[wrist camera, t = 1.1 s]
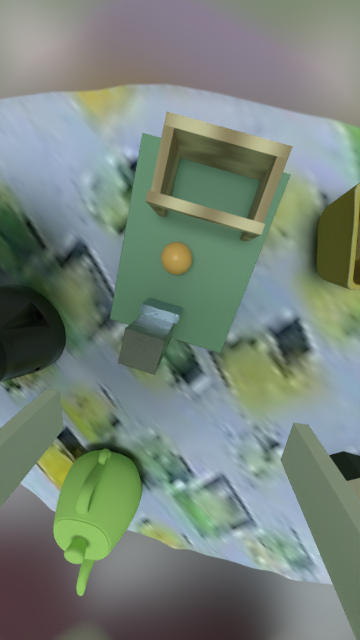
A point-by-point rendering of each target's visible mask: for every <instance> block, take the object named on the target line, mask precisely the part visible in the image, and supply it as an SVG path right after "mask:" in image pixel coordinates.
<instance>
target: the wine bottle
mask: <svg viewBox="0 0 360 640" xmlns="http://www.w3.org/2000/svg"><path fill="white" fill-rule="evenodd" d="M329 456H330V458H331V459H332V460H333V462H334V463H335V465H336V466H337V468H338V469H339V471H340V472H341V474H342V475H343V477H344V478H345V480H346V481H347V483H348V484H349V485H350V487H351V488H352V490H353V491H354V493H355V494H356V496H357V497H358V499H359V500H360V456H357V455H354V454H351V453H347V452H340V453H336V454H333V455H329Z"/></svg>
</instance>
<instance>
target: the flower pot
mask: <svg viewBox="0 0 360 640" xmlns="http://www.w3.org/2000/svg"><path fill="white" fill-rule="evenodd" d="M317 271H318V274H319V275H320V277H321V278H322V279H324V280H326V281H328V282H331V283H334V284H337V285H340V286H342V287H345V288H348V289H351V290H357V289H360V183H359V184H357V185H356V186H355V187H353V188H352V189H350V190H349V191H348V192H346V193H345V194H344V195H342V196H341V197H339V198H338V199H337V200H335V201H334V202H333V203H332V204H330V205H329V206H328V207H327V208H326V209H325V210H324V212H323V213H322V215H321V217H320V220H319V224H318V237H317Z"/></svg>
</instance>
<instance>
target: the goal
mask: <svg viewBox="0 0 360 640" xmlns="http://www.w3.org/2000/svg"><path fill="white" fill-rule="evenodd" d="M292 147H293V146H289V145H285V144H282V143H278V142H275V141H271V140H267V139H264V138H260V137H257V136H253V135H249V134H246V133H242V132H239V131H235V130H231V129H228V128H224V127H221V126H217V125H213V124H210V123H206V122H203V121H199V120H195V119H192V118H188V117H185V116H181V115H177V114H174V113H170V112H167V113H166V118H165V123H164V128H163V133H162V138H161V143H160V148H159V153H158V157H157V162H156V167H155V172H154V177H153V182H152V187H151V191H150V190H147V195H146V200H145V201H146V202H147V203H148V204H149V206H150V207H151V208H152V209H153V210H154V211H155V212H156V213H157V214H158V215H159V216H162V217H165V218H166V215H167V211H168V210H170V211H174V212H177V213H181V214H184V215H187V216H191V217H194V218H198V219H201V220H205V221H208V222H211V223H215V224H218V225H222V226H225V227H228V228H232V229H235V230H239V231H242V235H241V238H240V240H244V241H247V242H248V241H250V240H252V239H254V238H256V237H258V236H260V235H261V234H262V231H263V229H264V226H265V224H264V220H265V217H266V215H267V212H268V210H269V207H270V204H271V202H272V199H273V196H274V194H275V191H276V189H277V186H278V183H279V181H280V178H281V175H282V173H283V170H284V168H285V165H286V162H287V160H288V157H289V154H290V152H291V149H292ZM180 158H182V159H186V160H189V161H193V162H196V163H200V164H203V165H207V166H210V167H214V168H217V169H221V170H224V171H228V172H231V173H235V174H238V175H242V176H245V177H249V178H252V179H256V180H261V181H260V184H259V187H258V190H257V193H256V196H255V198H254V201H253V204H252V207H251V210H250V213H249V215H248V218H247V219H246V218H243V217H239V216H236V215H233V214H229V213H226V212H222V211H219V210H215V209H212V208H208V207H205V206H202V205H198V204H195V203H191V202H188V201H184V200H181V199H178V198H174V197H171V194H172V190H173V185H174V181H175V177H176V172H177V168H178V164H179V159H180Z"/></svg>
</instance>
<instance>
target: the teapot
mask: <svg viewBox="0 0 360 640" xmlns="http://www.w3.org/2000/svg"><path fill="white" fill-rule="evenodd" d="M141 495H142V484H141V480H140V476H139V473H138V470H137V468H136V466H135V464H134V463H133V462H132V460H131V459H130V458H128V457H126V456H124V455H121V454H119V453H115V452H111V451H110V450H108V449H102V450H94V451H91V452H88V453H86V454H84V455H82V456H81V457H79V458H78V459H77V460H76V461H75V462H74V463H73V465H72V467H71V468H70V470H69V472H68V474H67V476H66V478H65V481H64V483H63V486H62V489H61V492H60V495H59V499H58V504H57V509H56V514H55V520H54V529H53V530H54V537H55V540H56V542H57V544H58V545H59V546H60V547H61V548H62V549H63V550H64V551H65V552H64V557H65V558H66V559H67V560H68V561H69V562H71V563H74V564H80V563H82V564H81V568H80V572H79V576H78V581H77V593H78V595H79V596H82V595H83V594H84V591H85V588H86V584H87V580H88V577H89V574H90V571H91V569H92V566H93V564H94V562H95V560H101V559H103V558H105V557H106V556H107V555H108V554H109V553H110V551H111V550H112V549H113V548H114V546H115V545H116V544H117V542H118V541H119V540H120V538H121V537H122V535H123V534H124V533H125V531H126V530H127V528H128V526H129V525H130V523H131V521H132V519H133V517H134V515H135V513H136V511H137V508H138V506H139V503H140V499H141Z"/></svg>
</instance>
